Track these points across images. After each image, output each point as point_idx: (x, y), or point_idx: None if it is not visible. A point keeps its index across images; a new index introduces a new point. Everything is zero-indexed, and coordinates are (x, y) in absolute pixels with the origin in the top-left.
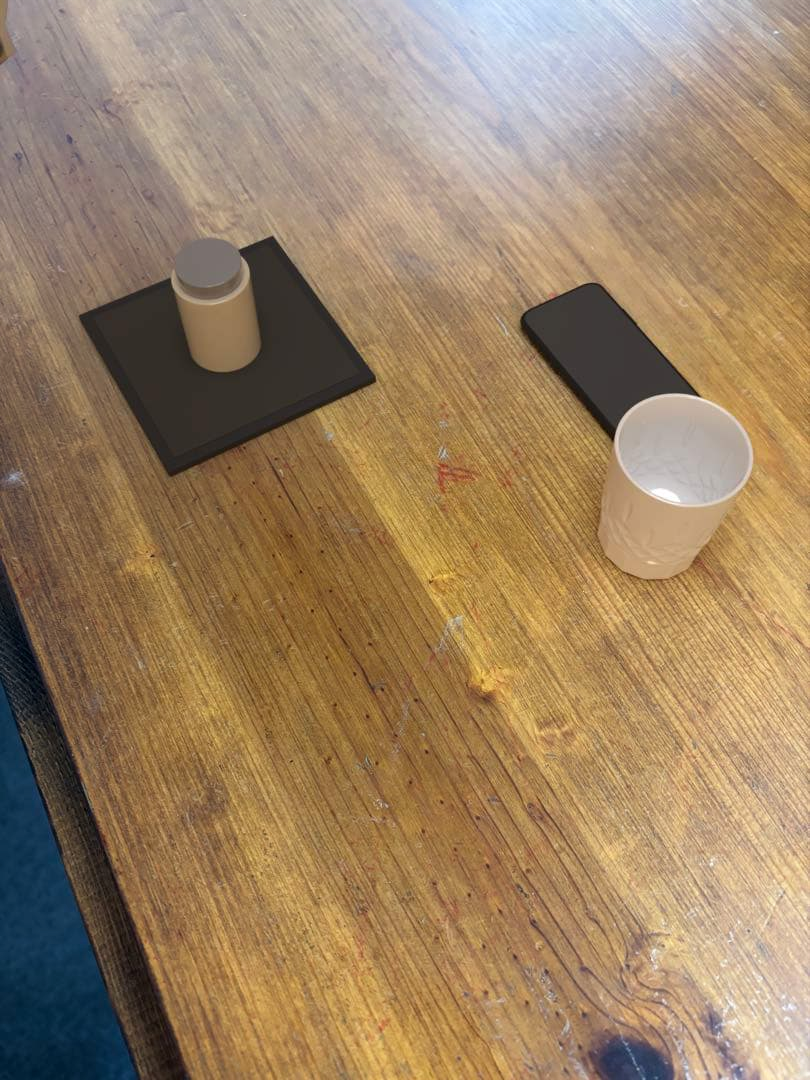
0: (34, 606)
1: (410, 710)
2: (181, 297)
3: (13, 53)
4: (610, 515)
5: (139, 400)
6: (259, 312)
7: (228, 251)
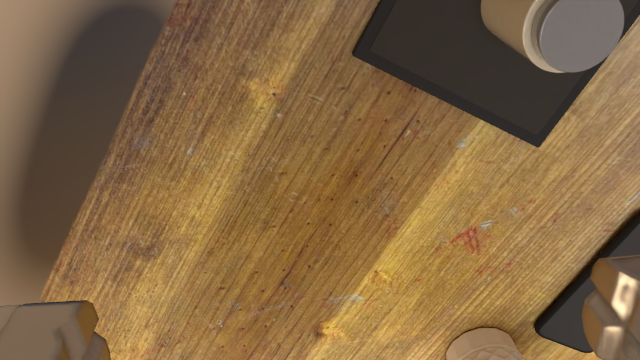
0: (167, 39)
1: (283, 307)
2: (525, 18)
3: None
4: None
5: None
6: None
7: (606, 43)
